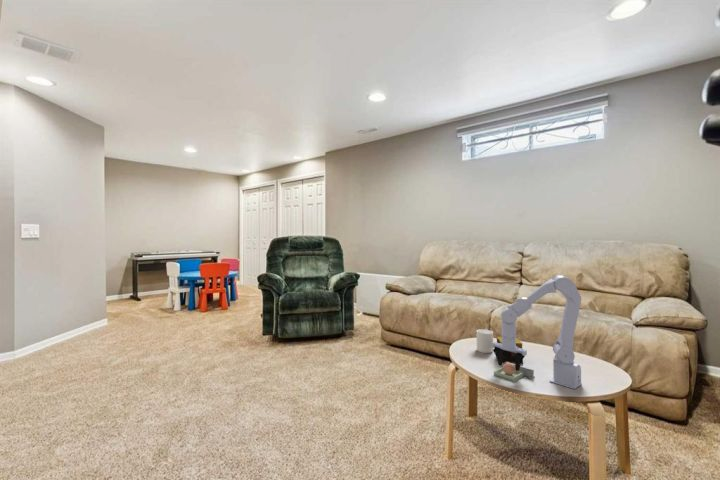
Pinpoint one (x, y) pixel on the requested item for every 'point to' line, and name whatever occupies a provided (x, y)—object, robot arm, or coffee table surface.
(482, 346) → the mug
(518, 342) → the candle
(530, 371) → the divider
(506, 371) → the ball
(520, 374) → the tray
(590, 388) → the coffee table surface
